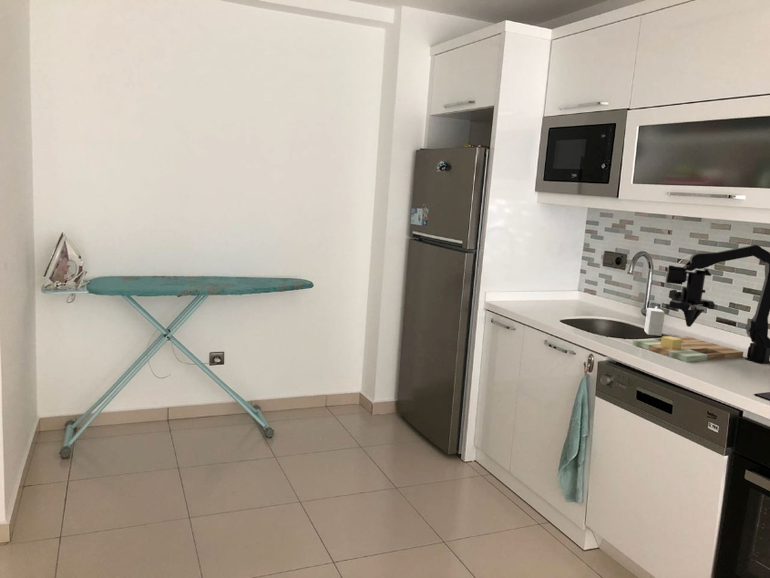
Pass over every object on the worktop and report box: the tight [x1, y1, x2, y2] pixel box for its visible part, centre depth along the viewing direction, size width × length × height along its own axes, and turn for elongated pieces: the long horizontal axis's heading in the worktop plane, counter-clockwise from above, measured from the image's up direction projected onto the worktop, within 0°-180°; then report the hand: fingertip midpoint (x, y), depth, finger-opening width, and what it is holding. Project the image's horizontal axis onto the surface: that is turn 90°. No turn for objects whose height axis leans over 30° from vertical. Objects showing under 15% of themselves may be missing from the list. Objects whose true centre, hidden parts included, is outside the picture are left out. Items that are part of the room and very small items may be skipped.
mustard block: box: [660, 335, 682, 349], centre depth 236 cm, size 5×5×4 cm
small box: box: [644, 307, 665, 337], centre depth 268 cm, size 8×6×10 cm
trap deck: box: [632, 336, 744, 363], centre depth 241 cm, size 24×32×2 cm
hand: (688, 326), depth 239 cm, fingers closed
